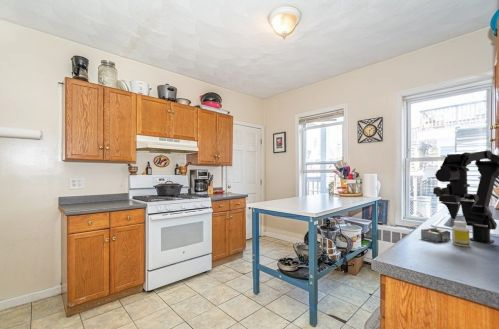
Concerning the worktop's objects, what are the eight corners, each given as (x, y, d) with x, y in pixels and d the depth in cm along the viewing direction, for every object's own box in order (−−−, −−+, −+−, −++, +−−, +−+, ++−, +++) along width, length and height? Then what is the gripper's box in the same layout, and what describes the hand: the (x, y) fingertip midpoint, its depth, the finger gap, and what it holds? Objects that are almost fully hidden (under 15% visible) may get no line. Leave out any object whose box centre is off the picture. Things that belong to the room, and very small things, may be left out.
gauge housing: (433, 235, 113) (433, 227, 113) (450, 239, 106) (450, 230, 106) (421, 238, 108) (420, 229, 109) (437, 242, 102) (437, 233, 102)
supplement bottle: (473, 247, 96) (472, 223, 96) (458, 246, 97) (457, 223, 97) (463, 243, 101) (463, 220, 101) (449, 242, 102) (448, 220, 102)
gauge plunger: (428, 233, 112) (428, 226, 112) (448, 238, 105) (447, 230, 105) (422, 235, 110) (422, 227, 110) (442, 239, 103) (442, 231, 103)
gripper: (448, 180, 111) (449, 213, 110) (424, 181, 103) (425, 216, 103) (478, 181, 101) (479, 217, 100) (455, 182, 93) (456, 221, 93)
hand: (459, 218), depth 99 cm, fingers open, 9 cm apart
